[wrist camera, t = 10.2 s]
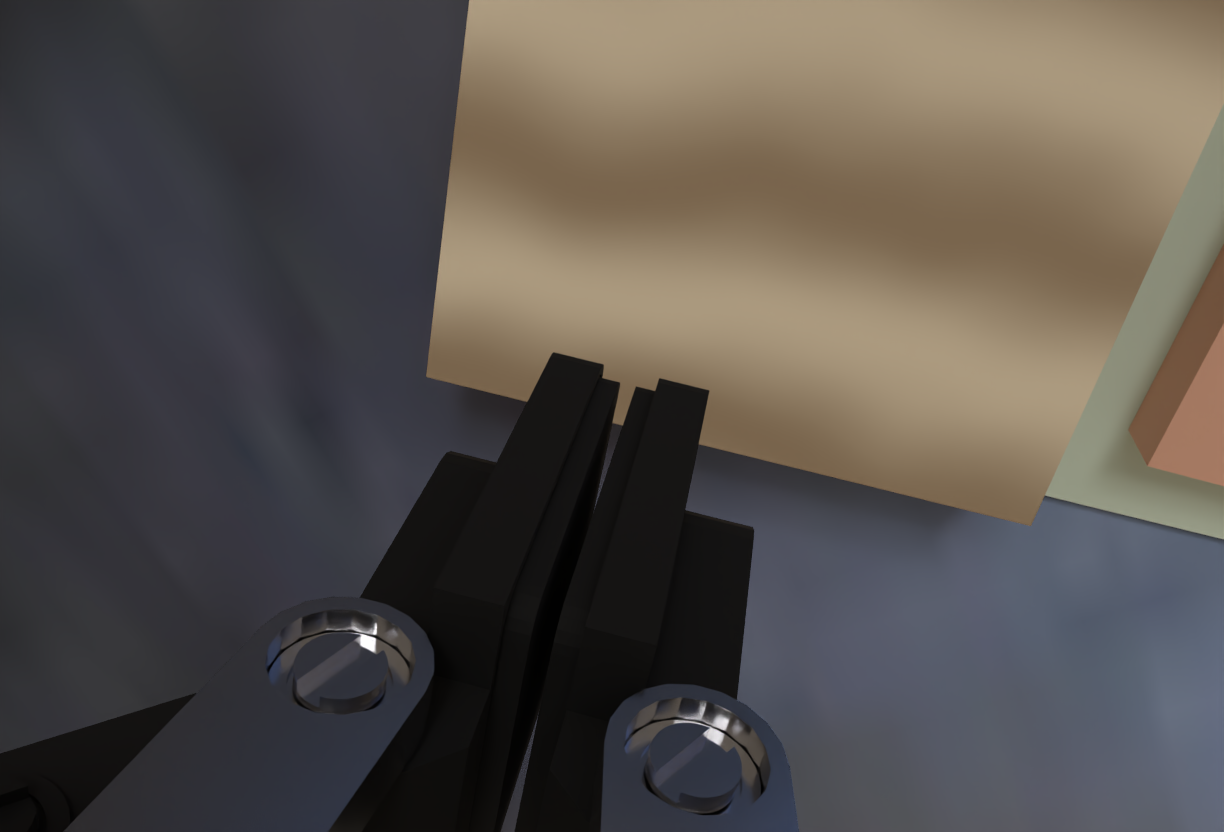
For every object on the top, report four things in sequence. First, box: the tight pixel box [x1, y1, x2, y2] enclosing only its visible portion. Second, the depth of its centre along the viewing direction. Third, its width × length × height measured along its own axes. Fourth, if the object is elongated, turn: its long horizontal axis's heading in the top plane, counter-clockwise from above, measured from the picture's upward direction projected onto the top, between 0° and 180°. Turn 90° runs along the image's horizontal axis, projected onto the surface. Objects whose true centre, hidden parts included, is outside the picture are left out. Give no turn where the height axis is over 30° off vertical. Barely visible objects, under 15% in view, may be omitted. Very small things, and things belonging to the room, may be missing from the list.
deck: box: [426, 0, 1224, 526], centre depth 27 cm, size 14×16×4 cm
